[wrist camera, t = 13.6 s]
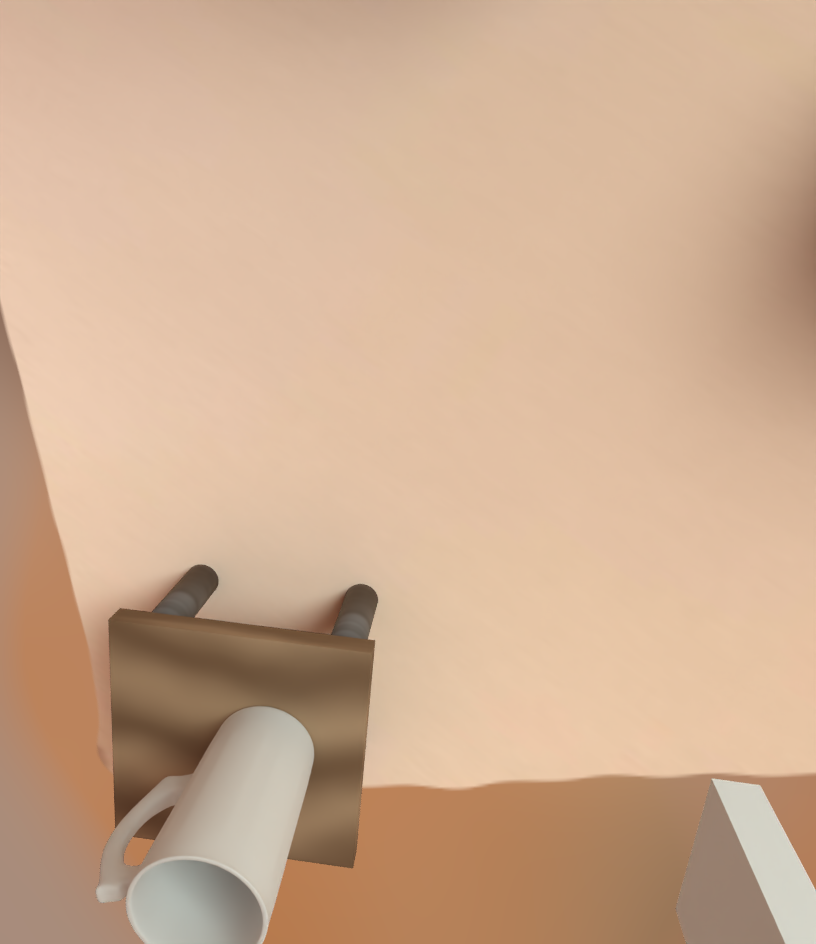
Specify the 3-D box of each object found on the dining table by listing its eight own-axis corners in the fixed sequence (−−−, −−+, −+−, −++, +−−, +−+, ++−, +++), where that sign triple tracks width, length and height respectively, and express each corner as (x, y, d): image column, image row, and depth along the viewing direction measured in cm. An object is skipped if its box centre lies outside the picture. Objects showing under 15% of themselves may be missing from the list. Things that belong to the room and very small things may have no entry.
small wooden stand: (176, 551, 53) (108, 619, 43) (390, 577, 53) (371, 653, 43) (176, 734, 58) (115, 834, 48) (373, 761, 57) (352, 868, 47)
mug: (311, 698, 44) (254, 854, 32) (326, 790, 46) (278, 969, 34) (153, 705, 45) (44, 859, 34) (174, 795, 47) (78, 970, 35)
